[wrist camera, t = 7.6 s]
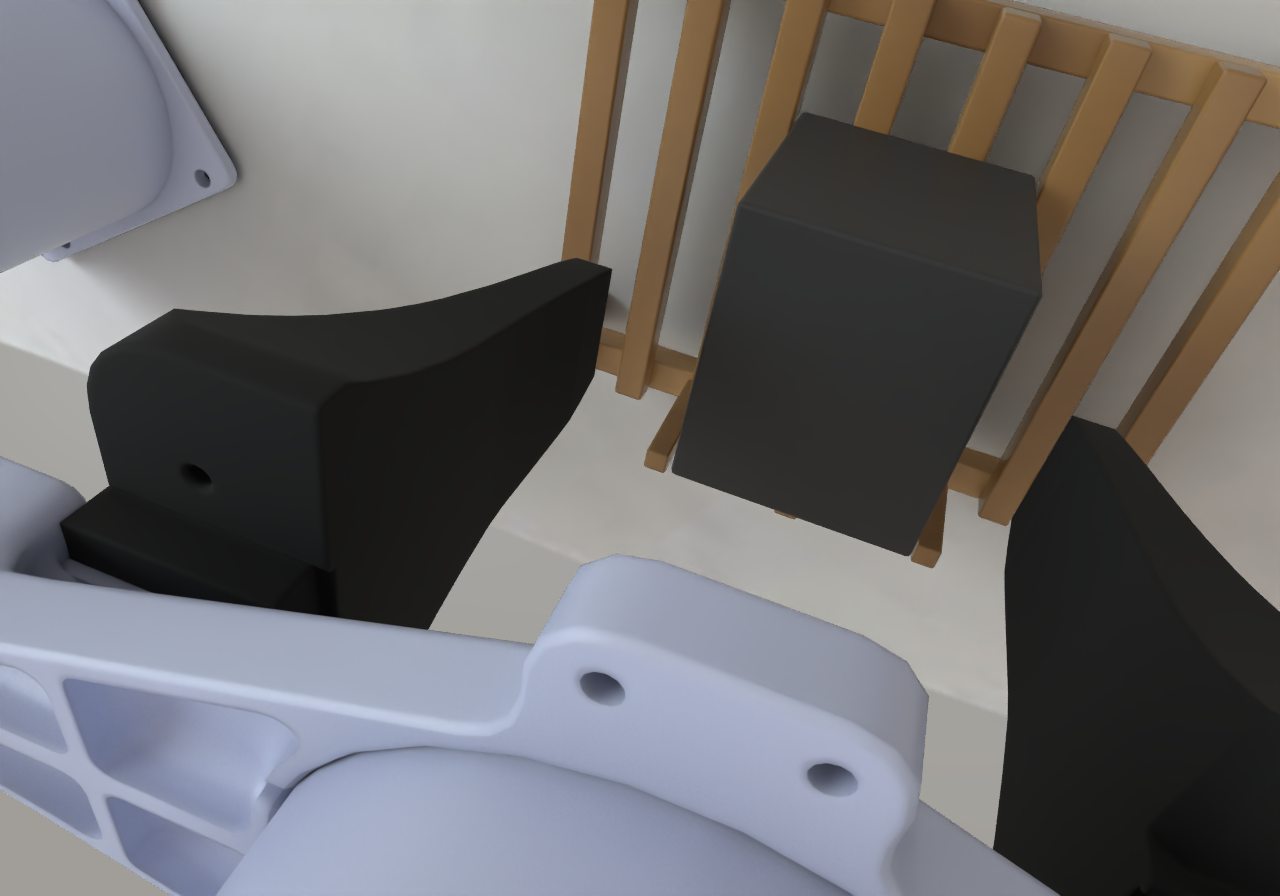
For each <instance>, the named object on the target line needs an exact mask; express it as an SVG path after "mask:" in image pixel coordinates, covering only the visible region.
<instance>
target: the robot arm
mask: <svg viewBox="0 0 1280 896" xmlns="http://www.w3.org/2000/svg"><path fill="white" fill-rule="evenodd" d="M204 172H205V173H206V174H207V175H208V176H209V179H210V181H209V180H208V179H207V178H206V176H205V173H204ZM236 180H237V172H236V169H235V167H234V165H233V163H232V161H231V160H230V158H229V156H228V154H227V153H226V151H225V149H224V148H223V146H222V144H221V142H220V141H219V139H218V137H217V136H216V134H215V132H214V130H213V129H212V127H211V125H210V124H209V122H208V120H207V118H206V117H205V115H204V113H203V112H202V110H201V108H200V107H199V105H198V103H197V101H196V100H195V98H194V96H193V95H192V93H191V91H190V89H189V88H188V86H187V84H186V83H185V81H184V79H183V77H182V76H181V74H180V72H179V71H178V69H177V67H176V65H175V64H174V62H173V60H172V59H171V57H170V55H169V54H168V52H167V50H166V48H165V47H164V45H163V43H162V42H161V40H160V38H159V36H158V35H157V33H156V31H155V30H154V28H153V26H152V24H151V23H150V21H149V19H148V18H147V16H146V14H145V12H144V11H143V9H142V7H141V6H140V4H139V2H138V0H0V273H2V272H4V271H6V270H8V269H11V268H13V267H15V266H17V265H20V264H22V263H24V262H26V261H28V260H31V259H33V258H35V257H37V256H40V255H42V256H43V257H44V258H45V259H47V260H49V261H52V262H57V261H60V260H62V259H64V258H67V257H69V256H71V255H74V254H76V253H78V252H81V251H83V250H86V249H88V248H90V247H93V246H95V245H97V244H100V243H102V242H104V241H107V240H109V239H111V238H114V237H116V236H118V235H121V234H123V233H125V232H128V231H130V230H132V229H135V228H137V227H139V226H142V225H144V224H146V223H149V222H151V221H153V220H156V219H158V218H160V217H163V216H165V215H167V214H170V213H172V212H174V211H177V210H179V209H181V208H184V207H186V206H188V205H191V204H193V203H195V202H198V201H200V200H202V199H205V198H207V197H209V196H212V195H214V194H216V193H219V192H221V191H223V190H226V189H228V188H230V187H232V186H233V185H234V184H235V183H236ZM611 273H612V269H611V268H608V267H605V266H601V265H598V264H595V263H592V262H589V261H586V260H583V259H579V258H573V259H568V260H565V261H561V262H558V263H555V264H552V265H549V266H546V267H543V268H540V269H537V270H534V271H531V272H528V273H525V274H522V275H519V276H516V277H513V278H510V279H507V280H504V281H501V282H498V283H495V284H492V285H489V286H486V287H482V288H478V289H475V290H471V291H468V292H464V293H460V294H457V295H453V296H450V297H446V298H442V299H438V300H434V301H429V302H424V303H420V304H414V305H408V306H402V307H397V308H391V309H384V310H376V311H364V312H353V313H341V314H330V315H304V316H273V315H243V314H230V313H218V312H206V311H193V310H184V309H173V310H171V311H169V312H168V313H166V314H164V315H163V316H161V317H159V318H158V319H156V320H154V321H153V322H151V323H149V324H148V325H146V326H144V327H142V328H141V329H139V330H137V331H136V332H134V333H132V334H131V335H129V336H127V337H126V338H124V339H122V340H121V341H119V342H117V343H116V344H114V345H112V346H110V347H109V348H107V349H105V350H104V351H102V352H101V353H100V354H99V356H98V357H97V358H96V360H95V361H94V362H93V364H92V365H91V367H90V372H89V377H88V382H87V393H88V401H89V408H90V414H91V417H92V422H93V425H94V429H95V433H96V437H97V441H98V444H99V448H100V452H101V456H102V460H103V463H104V467H105V471H106V475H107V479H108V483H109V485H110V486H108V487H107V488H106V489H104V490H103V491H102V492H100V493H99V494H98V495H96V496H95V497H94V498H92V499H91V500H89V501H88V502H86V500H85V498H84V497H83V496H82V495H81V494H80V493H79V492H78V491H77V490H76V489H75V488H74V487H72V486H70V485H69V484H67V483H65V482H64V481H62V480H59V479H57V478H54V477H52V476H49V475H47V474H44V473H41V472H39V471H37V470H34V469H32V468H29V467H27V466H24V465H22V464H19V463H16V462H14V461H12V460H9V459H6V458H4V457H1V456H0V790H2V791H3V792H5V793H6V794H8V795H10V796H11V797H13V798H15V799H17V800H18V801H20V802H21V803H23V804H25V805H27V806H28V807H30V808H31V809H33V810H35V811H37V812H38V813H40V814H41V815H43V816H45V817H46V818H48V819H50V820H51V821H53V822H55V823H56V824H58V825H59V826H61V827H63V828H64V829H66V830H67V831H69V832H70V833H72V834H74V835H75V836H77V837H78V838H80V839H82V840H83V841H85V842H86V843H88V844H90V845H91V846H93V847H94V848H96V849H97V850H99V851H101V852H102V853H104V854H105V855H107V856H109V857H110V858H112V859H113V860H115V861H117V862H118V863H120V864H121V865H123V866H124V867H126V868H128V869H129V870H131V871H132V872H134V873H136V874H137V875H139V876H140V877H142V878H144V879H145V880H147V881H148V882H150V883H151V884H153V885H155V886H157V887H158V888H159V889H161V890H163V891H164V892H166V893H167V894H169V895H171V896H1280V612H1279V611H1278V610H1277V609H1276V608H1275V607H1274V606H1273V605H1271V604H1270V603H1269V602H1268V601H1267V600H1266V599H1265V598H1264V597H1263V596H1262V595H1261V594H1259V593H1258V592H1257V591H1256V590H1255V589H1254V588H1253V587H1252V586H1251V585H1250V584H1249V583H1248V582H1247V581H1246V580H1245V579H1244V578H1243V577H1242V576H1241V575H1240V574H1239V573H1238V572H1237V571H1236V570H1235V569H1234V568H1233V567H1232V566H1231V565H1230V564H1229V563H1228V562H1227V560H1226V559H1225V558H1224V557H1223V556H1222V555H1221V554H1220V553H1219V552H1218V551H1217V550H1216V549H1215V547H1214V546H1213V545H1212V544H1211V543H1210V542H1209V541H1208V540H1207V539H1206V538H1205V536H1204V535H1203V534H1202V533H1201V532H1200V531H1199V530H1198V528H1197V527H1196V526H1195V525H1194V524H1193V523H1192V521H1191V520H1190V519H1189V518H1188V517H1187V515H1186V514H1185V513H1184V512H1183V511H1182V509H1181V508H1180V507H1179V506H1178V505H1177V503H1176V502H1175V501H1174V500H1173V498H1172V497H1171V496H1170V495H1169V493H1168V492H1167V491H1166V490H1165V488H1164V487H1163V486H1162V485H1161V483H1160V482H1159V481H1158V480H1157V478H1156V477H1155V476H1154V474H1153V473H1152V472H1151V471H1150V469H1149V468H1148V467H1147V466H1146V464H1145V463H1144V462H1143V461H1142V459H1141V458H1140V457H1139V456H1138V454H1137V453H1136V452H1135V451H1134V449H1133V448H1132V447H1131V446H1130V445H1129V444H1128V442H1127V441H1126V440H1125V439H1124V438H1123V437H1122V436H1121V435H1120V434H1119V433H1118V432H1117V431H1116V430H1115V429H1112V428H1109V427H1106V426H1103V425H1100V424H1097V423H1094V422H1091V421H1087V420H1084V419H1081V418H1078V417H1075V416H1072V417H1071V419H1070V420H1069V422H1068V424H1067V425H1066V427H1065V429H1064V430H1063V432H1062V434H1061V436H1060V437H1059V439H1058V441H1057V442H1056V444H1055V446H1054V447H1053V449H1052V451H1051V453H1050V454H1049V456H1048V458H1047V459H1046V461H1045V463H1044V464H1043V466H1042V468H1041V469H1040V471H1039V473H1038V475H1037V476H1036V478H1035V480H1034V481H1033V483H1032V485H1031V486H1030V488H1029V490H1028V492H1027V493H1026V495H1025V497H1024V498H1023V500H1022V502H1021V503H1020V505H1019V507H1018V508H1017V510H1016V512H1015V514H1014V515H1013V517H1012V521H1011V527H1010V534H1009V540H1008V547H1007V555H1006V564H1005V572H1004V574H1005V620H1006V647H1007V676H1008V721H1007V732H1006V743H1005V754H1004V764H1003V774H1002V783H1001V791H1000V799H999V808H998V816H997V824H996V832H995V840H994V846H993V849H992V848H990V847H989V846H987V845H986V844H984V843H983V842H981V841H980V840H978V839H977V838H975V837H973V835H971V834H970V833H968V832H967V831H965V830H964V829H962V828H961V827H959V826H958V825H956V824H955V823H953V822H952V821H951V820H949V819H948V818H946V817H945V816H943V815H942V814H940V813H939V812H937V811H936V810H934V809H933V808H931V807H930V806H929V805H927V804H926V803H924V802H923V801H921V800H920V799H919V795H920V789H921V781H922V769H923V757H924V746H925V735H926V723H927V710H928V700H929V696H928V694H927V693H926V691H925V689H924V688H923V686H922V685H921V683H920V681H919V680H918V678H917V677H916V675H915V674H914V672H913V670H912V669H911V667H910V666H909V664H908V662H907V661H905V660H904V659H902V658H900V657H899V656H897V655H895V654H894V653H892V652H890V651H889V650H887V649H885V648H884V647H882V646H880V645H879V644H877V643H875V642H874V641H872V640H870V639H869V638H867V637H865V636H864V635H861V634H858V633H856V632H853V631H850V630H847V629H845V628H842V627H839V626H837V625H834V624H831V623H828V622H826V621H823V620H820V619H818V618H815V617H812V616H809V615H807V614H804V613H801V612H799V611H796V610H793V609H791V608H788V607H785V606H782V605H780V604H777V603H774V602H772V601H769V600H766V599H763V598H761V597H758V596H755V595H753V594H750V593H747V592H744V591H742V590H739V589H736V588H734V587H731V586H728V585H725V584H723V583H720V582H717V581H715V580H712V579H709V578H707V577H704V576H701V575H698V574H696V573H693V572H690V571H688V570H685V569H682V568H679V567H677V566H674V565H671V564H669V563H666V562H663V561H658V560H652V559H645V558H639V557H633V556H627V555H621V554H615V555H611V556H608V557H605V558H602V559H599V560H596V561H593V562H590V563H587V564H584V565H581V566H580V568H579V569H578V571H577V572H576V574H575V575H574V577H573V579H572V580H571V582H570V583H569V585H568V587H567V588H566V590H565V591H564V593H563V595H562V597H561V598H560V600H559V602H558V604H557V605H556V607H555V609H554V611H553V612H552V614H551V616H550V618H549V619H548V621H547V623H546V625H545V626H544V628H543V630H542V632H541V634H540V635H539V637H538V639H537V640H536V642H535V644H529V643H522V642H514V641H507V640H499V639H492V638H484V637H476V636H469V635H462V634H455V633H447V632H440V631H432V630H428V629H429V627H430V625H431V624H432V622H433V620H434V618H435V616H436V614H437V613H438V611H439V609H440V607H441V606H442V604H443V602H444V600H445V598H446V597H447V595H448V593H449V592H450V590H451V588H452V586H453V585H454V583H455V581H456V579H457V578H458V576H459V574H460V573H461V571H462V569H463V567H464V566H465V564H466V562H467V561H468V559H469V557H470V556H471V554H472V552H473V551H474V549H475V548H476V546H477V544H478V543H479V541H480V539H481V538H482V536H483V534H484V533H485V531H486V529H487V528H488V526H489V525H490V523H491V522H492V520H493V519H494V518H495V516H496V515H497V513H498V512H499V510H500V509H501V508H502V506H503V505H504V504H505V502H506V501H507V500H508V499H509V497H510V496H511V495H512V494H513V492H514V491H515V490H516V488H517V487H518V486H519V485H520V483H521V482H522V481H523V480H524V478H525V477H526V476H527V474H528V473H529V472H530V471H531V469H532V468H533V467H534V466H535V464H536V463H537V462H538V460H539V459H540V458H541V457H542V455H543V454H544V453H545V452H546V450H547V449H548V448H549V446H550V445H551V444H552V443H553V441H554V440H555V439H556V437H557V436H558V435H559V433H560V432H561V431H562V430H563V428H564V427H565V426H566V424H567V423H568V422H569V420H570V418H571V417H572V415H573V413H574V412H575V410H576V408H577V406H578V405H579V403H580V401H581V399H582V397H583V396H584V394H585V392H586V390H587V388H588V386H589V385H590V383H591V381H592V379H593V377H594V374H595V368H596V362H597V356H598V350H599V344H600V338H601V332H602V326H603V320H604V315H605V309H606V303H607V297H608V291H609V285H610V279H611Z"/></svg>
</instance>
